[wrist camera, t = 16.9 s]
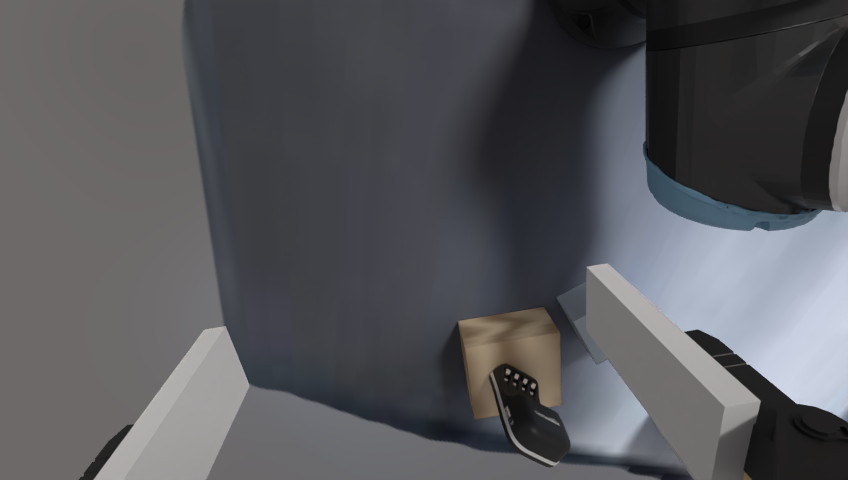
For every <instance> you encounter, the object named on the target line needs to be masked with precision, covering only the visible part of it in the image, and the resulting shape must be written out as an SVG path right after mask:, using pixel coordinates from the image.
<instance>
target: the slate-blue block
mask: <svg viewBox="0 0 848 480" xmlns="http://www.w3.org/2000/svg"><path fill="white" fill-rule="evenodd" d="M556 298H557V300H558V302H559V304H560V306H561V308H562V309H563V311H564V313H565V315H566V317H567V318H568V320H569V322H570V324H571V326H572V327H573V329H574V331H575V333H576V335H577V337H578V338H579V340H580V341H581V343H582V344H583V345H584V347H585V348H586V350H587V351H588V353H589V354H590V356H591V357H592V359H593V360H594V361H595V363H596V364H599V363H601V362H603V361H605V360H607V358H606V356H605V355H604V354H603V352H602V351H601V350H600V348H599V347H598V345H597V344H596V343H595V341H594V340H593V339H592V337H591V336H590V335H589V333H588V332H587V331H586V282H584V283H582V284H580V285H579V286H577V287H575V288H573V289H571V290H569V291H567V292H565V293H564V294H562V295H560V296H558V297H556Z"/></svg>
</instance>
